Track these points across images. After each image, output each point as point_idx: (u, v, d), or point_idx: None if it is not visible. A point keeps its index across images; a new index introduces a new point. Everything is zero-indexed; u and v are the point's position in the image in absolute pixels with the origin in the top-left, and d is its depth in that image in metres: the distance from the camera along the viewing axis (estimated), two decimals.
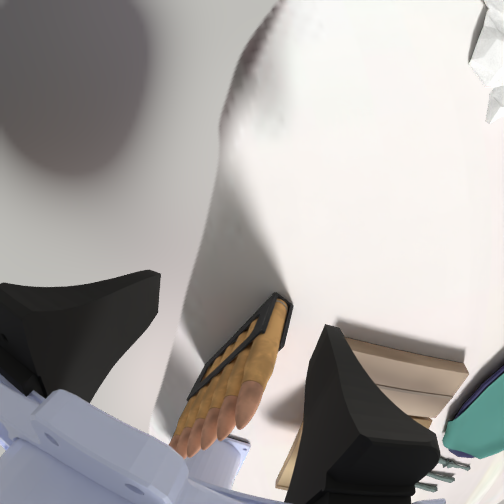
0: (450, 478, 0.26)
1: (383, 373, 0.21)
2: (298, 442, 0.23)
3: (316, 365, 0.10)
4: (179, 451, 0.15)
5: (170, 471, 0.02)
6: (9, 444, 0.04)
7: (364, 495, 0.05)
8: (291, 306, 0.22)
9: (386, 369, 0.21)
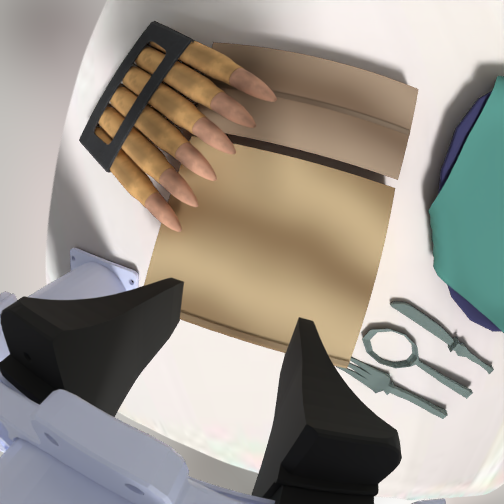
0: (465, 388, 0.20)
1: (274, 71, 0.15)
2: (169, 203, 0.18)
3: (288, 358, 0.11)
4: (188, 192, 0.16)
5: (170, 471, 0.02)
6: (9, 444, 0.04)
7: (321, 491, 0.05)
8: None
9: (276, 65, 0.15)
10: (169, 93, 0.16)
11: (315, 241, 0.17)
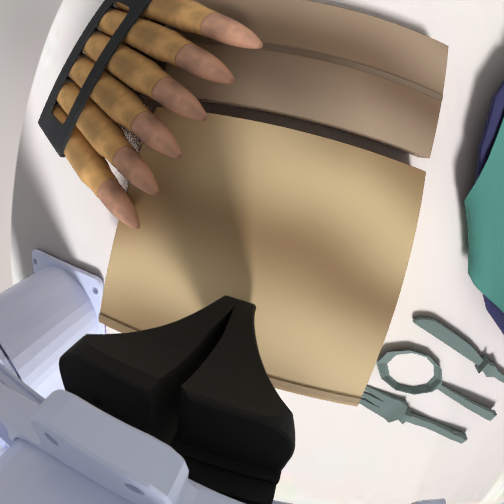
0: (489, 410, 0.16)
1: (263, 20, 0.11)
2: (128, 194, 0.13)
3: None
4: (146, 176, 0.11)
5: (170, 471, 0.02)
6: (9, 444, 0.04)
7: (214, 467, 0.05)
8: None
9: (266, 12, 0.10)
10: (129, 54, 0.11)
11: (320, 243, 0.12)
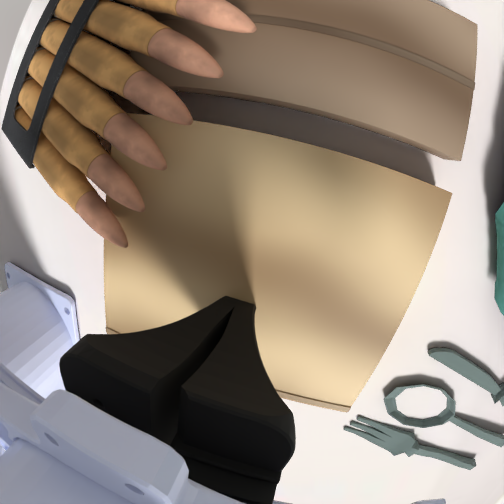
0: (501, 436, 0.13)
1: None
2: None
3: None
4: (128, 191, 0.10)
5: (170, 471, 0.02)
6: (9, 444, 0.04)
7: (214, 467, 0.05)
8: None
9: None
10: (92, 45, 0.08)
11: (314, 277, 0.11)
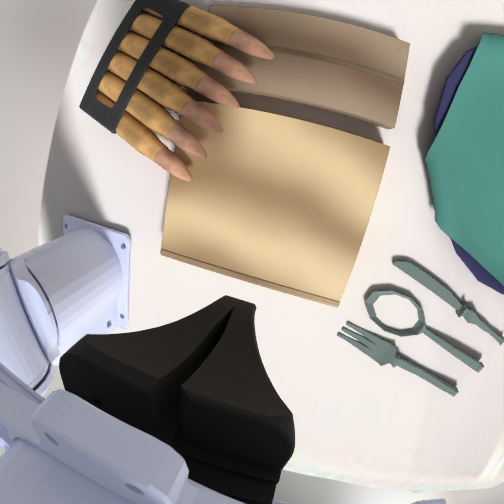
0: (476, 360, 0.19)
1: (268, 28, 0.15)
2: None
3: None
4: (197, 145, 0.17)
5: (170, 471, 0.02)
6: (9, 444, 0.04)
7: (214, 467, 0.05)
8: None
9: (270, 22, 0.14)
10: (169, 55, 0.15)
11: (308, 198, 0.18)
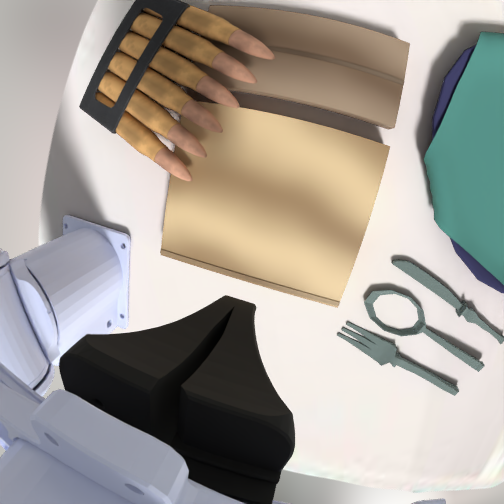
0: (476, 360, 0.19)
1: (268, 28, 0.15)
2: None
3: None
4: (197, 145, 0.17)
5: (170, 471, 0.02)
6: (9, 444, 0.04)
7: (214, 467, 0.05)
8: None
9: (270, 22, 0.14)
10: (169, 55, 0.15)
11: (308, 198, 0.18)
